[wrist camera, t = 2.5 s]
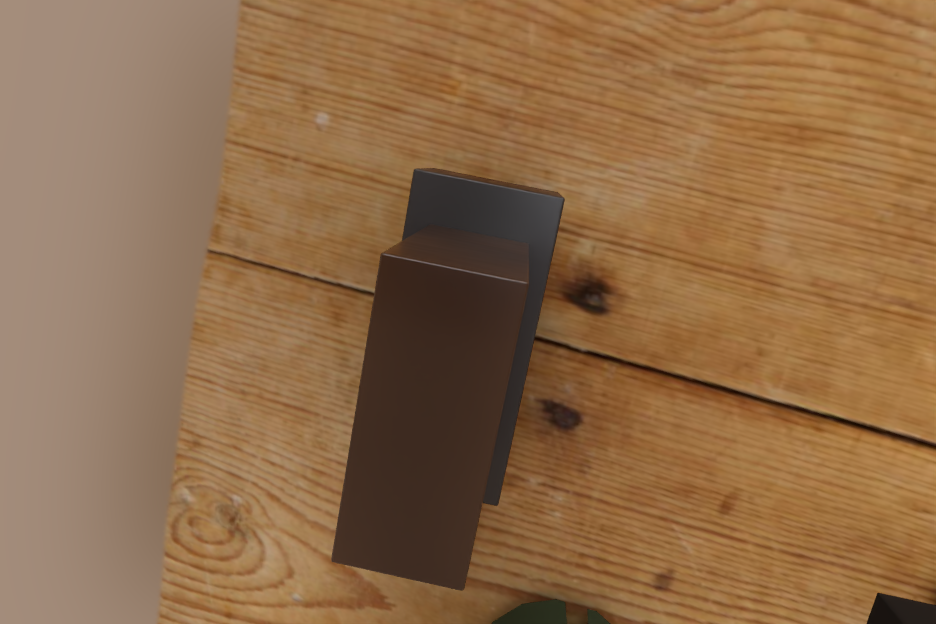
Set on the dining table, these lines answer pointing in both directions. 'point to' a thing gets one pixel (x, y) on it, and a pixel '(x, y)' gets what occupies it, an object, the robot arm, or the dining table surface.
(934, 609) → the robot arm
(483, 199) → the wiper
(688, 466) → the dining table surface
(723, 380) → the dining table surface
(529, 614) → the character mug
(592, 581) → the dining table surface
